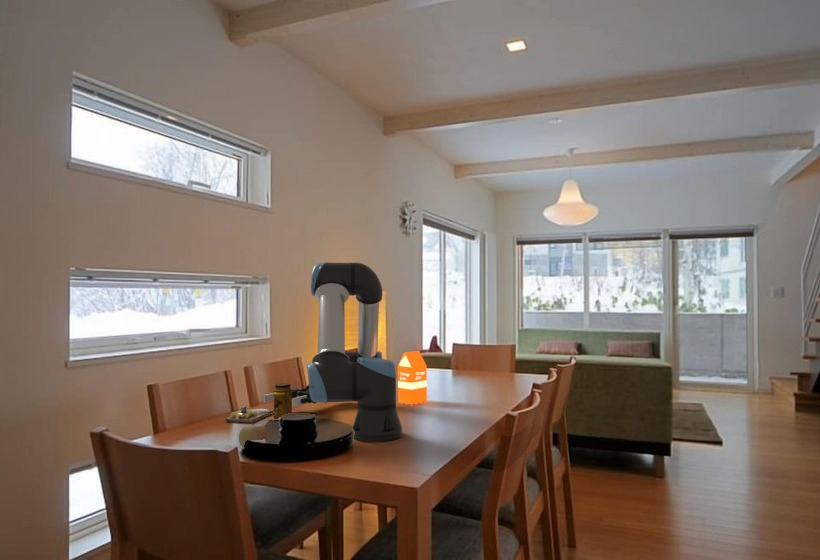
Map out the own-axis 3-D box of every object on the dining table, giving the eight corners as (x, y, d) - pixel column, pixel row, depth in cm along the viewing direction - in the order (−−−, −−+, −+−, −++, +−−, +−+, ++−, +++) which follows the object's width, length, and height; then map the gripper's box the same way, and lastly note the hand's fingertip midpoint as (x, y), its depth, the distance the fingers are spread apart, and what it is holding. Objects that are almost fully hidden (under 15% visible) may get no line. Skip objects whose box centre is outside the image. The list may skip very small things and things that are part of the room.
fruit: (243, 454, 146) (243, 424, 147) (235, 448, 152) (235, 419, 153) (271, 449, 150) (271, 420, 151) (262, 443, 157) (262, 415, 157)
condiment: (268, 420, 187) (268, 385, 187) (283, 415, 195) (282, 381, 195) (286, 422, 184) (286, 386, 184) (300, 416, 192) (300, 382, 192)
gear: (248, 419, 183) (248, 409, 183) (225, 418, 185) (225, 409, 185) (261, 414, 191) (261, 404, 191) (239, 413, 193) (239, 404, 193)
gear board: (252, 423, 182) (251, 419, 182) (225, 422, 185) (225, 417, 185) (274, 413, 198) (274, 409, 198) (249, 412, 200) (249, 408, 200)
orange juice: (427, 401, 217) (426, 351, 217) (412, 405, 210) (411, 353, 211) (413, 399, 222) (412, 350, 223) (397, 402, 216) (397, 352, 216)
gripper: (345, 404, 199) (305, 415, 180) (294, 398, 212) (252, 408, 193) (345, 383, 199) (305, 392, 181) (294, 379, 212) (252, 387, 194)
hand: (278, 400), depth 187 cm, fingers open, 13 cm apart
